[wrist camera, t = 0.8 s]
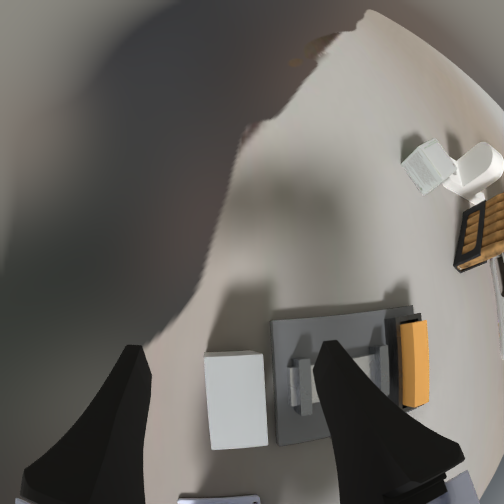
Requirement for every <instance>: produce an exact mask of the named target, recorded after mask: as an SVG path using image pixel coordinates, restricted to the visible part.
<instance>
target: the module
mask: <svg viewBox="0 0 504 504" xmlns="http://www.w3.org/2000/svg"><path fill="white" fill-rule="evenodd" d="M204 366H205V382H206V395H207V408H208V419H209V430H210V440H211V450H221V449H236V448H248V447H257V446H266V445H268V433H267V415H266V397H265V380H264V362H263V354H261V353H258V352H255V351H252V350H247V351H228V352H204Z"/></svg>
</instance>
